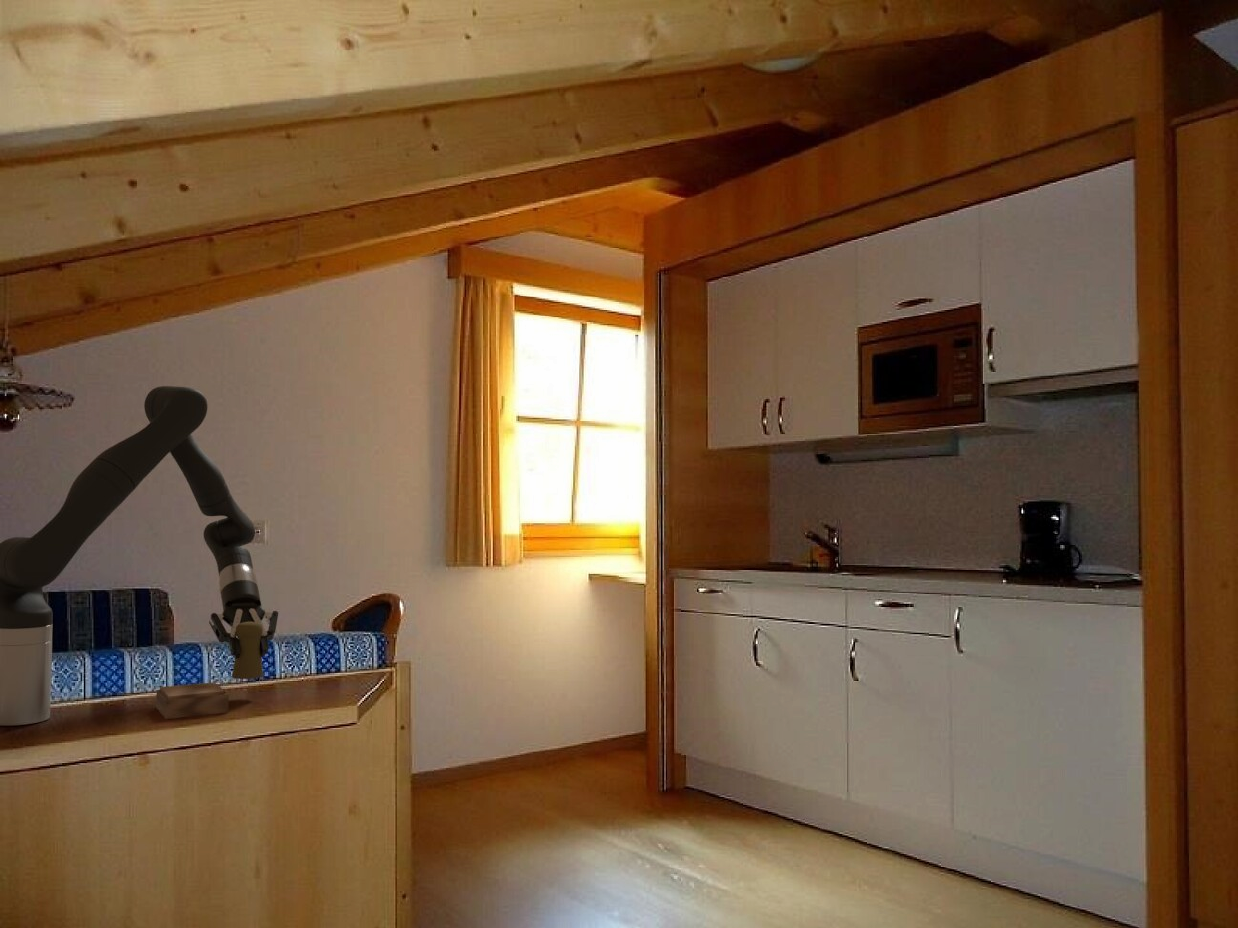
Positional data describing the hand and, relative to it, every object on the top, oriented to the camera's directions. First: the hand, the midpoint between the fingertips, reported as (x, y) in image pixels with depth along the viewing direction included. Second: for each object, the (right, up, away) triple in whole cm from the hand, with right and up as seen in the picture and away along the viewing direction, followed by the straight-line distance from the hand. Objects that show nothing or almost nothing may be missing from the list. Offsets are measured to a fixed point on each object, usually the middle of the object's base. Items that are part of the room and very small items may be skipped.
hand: (250, 654), depth 202 cm
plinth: (-8, -9, -10) cm, 15 cm away
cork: (-1, -5, +1) cm, 5 cm away
